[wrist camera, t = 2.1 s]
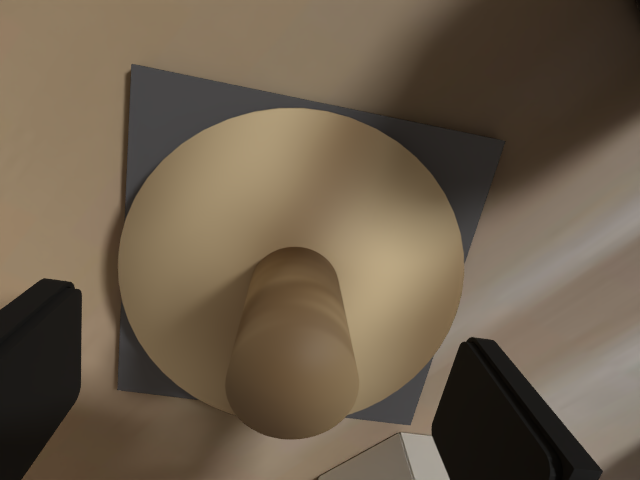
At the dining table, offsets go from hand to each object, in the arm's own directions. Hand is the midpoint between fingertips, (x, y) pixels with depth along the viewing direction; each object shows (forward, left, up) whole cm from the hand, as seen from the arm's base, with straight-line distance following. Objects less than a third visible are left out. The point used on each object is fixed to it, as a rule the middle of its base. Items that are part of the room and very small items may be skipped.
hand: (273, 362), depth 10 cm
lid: (0, 0, -5) cm, 5 cm away
